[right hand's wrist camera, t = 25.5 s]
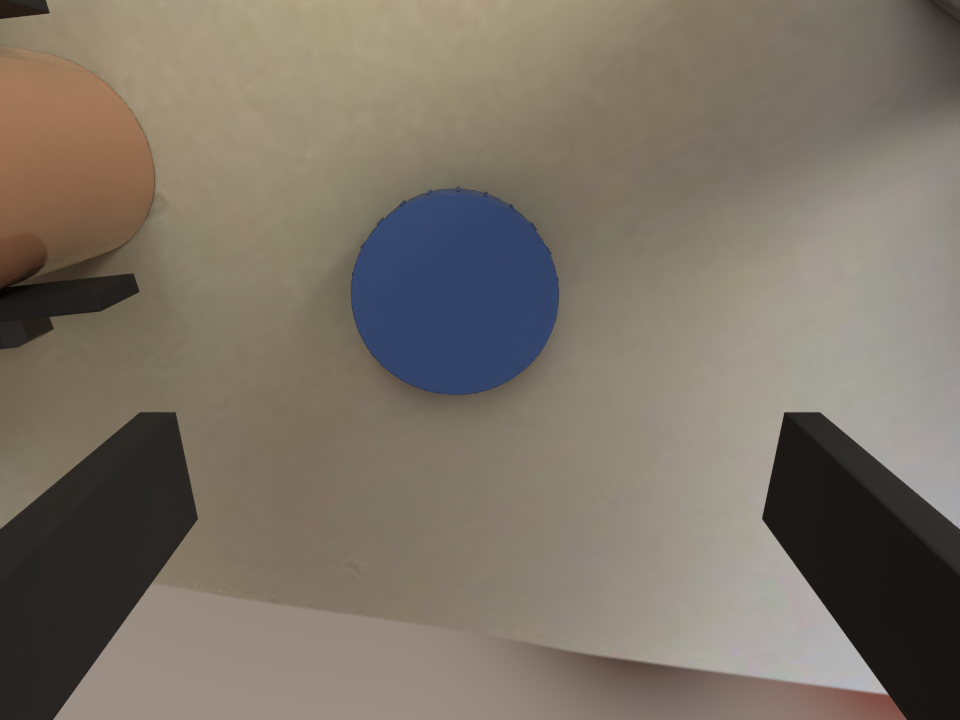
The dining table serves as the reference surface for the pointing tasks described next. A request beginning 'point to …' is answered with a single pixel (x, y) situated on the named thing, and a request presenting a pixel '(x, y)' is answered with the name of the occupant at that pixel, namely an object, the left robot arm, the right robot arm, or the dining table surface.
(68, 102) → the jar
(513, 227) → the lid
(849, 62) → the dining table surface
